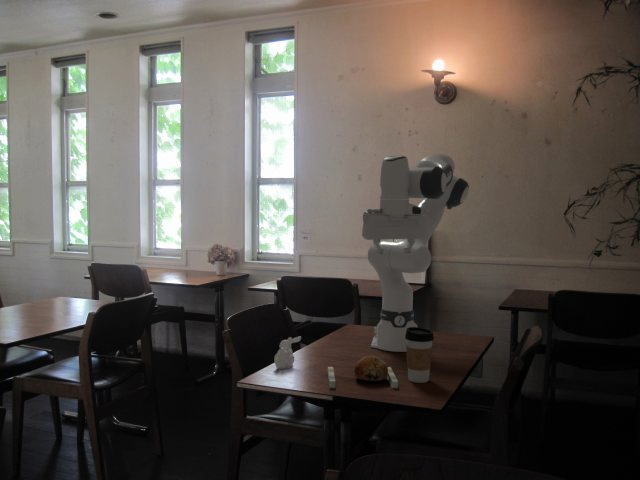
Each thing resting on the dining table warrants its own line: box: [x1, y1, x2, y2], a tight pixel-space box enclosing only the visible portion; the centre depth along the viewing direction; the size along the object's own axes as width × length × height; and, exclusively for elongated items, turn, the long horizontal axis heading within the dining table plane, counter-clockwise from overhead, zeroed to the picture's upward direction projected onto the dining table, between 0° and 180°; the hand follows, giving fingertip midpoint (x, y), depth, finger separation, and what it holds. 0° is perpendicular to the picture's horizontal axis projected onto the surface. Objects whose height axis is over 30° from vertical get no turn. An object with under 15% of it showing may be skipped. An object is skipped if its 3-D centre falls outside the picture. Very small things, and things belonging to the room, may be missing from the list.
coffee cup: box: [405, 326, 435, 384], centre depth 169 cm, size 8×8×15 cm
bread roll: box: [354, 355, 389, 382], centre depth 169 cm, size 10×10×8 cm
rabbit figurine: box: [273, 336, 302, 370], centre depth 182 cm, size 12×8×10 cm, turn 168°
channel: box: [327, 366, 399, 389], centre depth 168 cm, size 14×19×2 cm
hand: (393, 253), depth 177 cm, fingers open, 8 cm apart
